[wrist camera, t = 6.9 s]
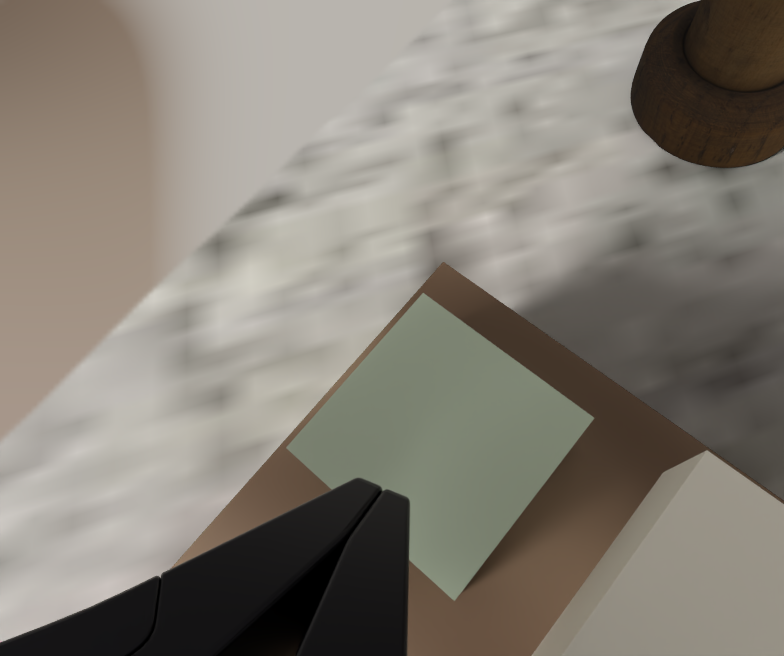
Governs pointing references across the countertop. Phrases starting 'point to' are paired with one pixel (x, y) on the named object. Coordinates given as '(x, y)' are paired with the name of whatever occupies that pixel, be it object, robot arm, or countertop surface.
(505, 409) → the sage key
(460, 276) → the keypad console
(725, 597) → the cream key
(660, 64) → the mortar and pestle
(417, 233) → the countertop surface
